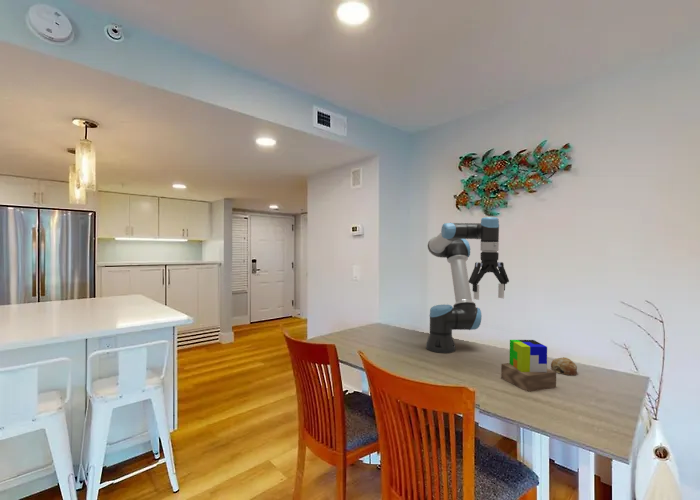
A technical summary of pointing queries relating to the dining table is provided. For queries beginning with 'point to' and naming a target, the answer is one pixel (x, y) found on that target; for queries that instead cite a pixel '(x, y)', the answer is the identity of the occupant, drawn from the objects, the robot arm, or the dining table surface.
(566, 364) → the bread roll
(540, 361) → the puzzle toy
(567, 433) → the dining table surface
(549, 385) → the walnut plinth
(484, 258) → the robot arm
